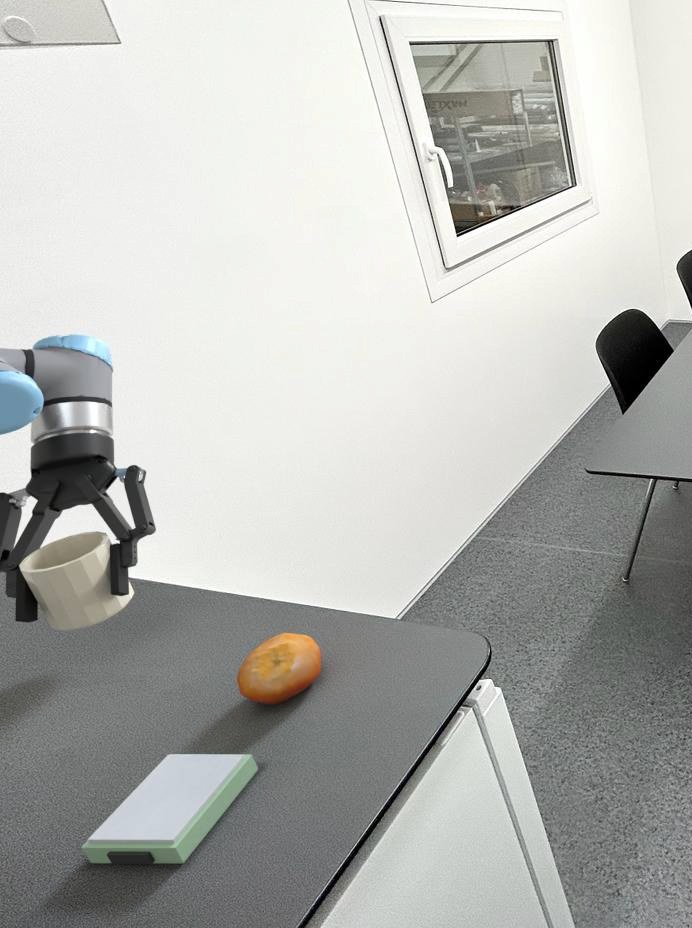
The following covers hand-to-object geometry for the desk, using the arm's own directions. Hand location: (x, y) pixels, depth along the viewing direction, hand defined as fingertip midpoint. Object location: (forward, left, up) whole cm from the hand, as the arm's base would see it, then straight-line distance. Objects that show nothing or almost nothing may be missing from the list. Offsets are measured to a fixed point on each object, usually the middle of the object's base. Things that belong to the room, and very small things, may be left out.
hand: (74, 606), depth 79 cm
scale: (+13, -30, -10) cm, 34 cm away
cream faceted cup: (0, +3, -4) cm, 5 cm away
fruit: (+21, -18, -10) cm, 29 cm away
